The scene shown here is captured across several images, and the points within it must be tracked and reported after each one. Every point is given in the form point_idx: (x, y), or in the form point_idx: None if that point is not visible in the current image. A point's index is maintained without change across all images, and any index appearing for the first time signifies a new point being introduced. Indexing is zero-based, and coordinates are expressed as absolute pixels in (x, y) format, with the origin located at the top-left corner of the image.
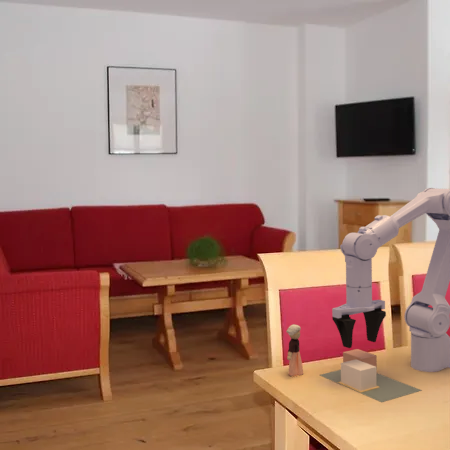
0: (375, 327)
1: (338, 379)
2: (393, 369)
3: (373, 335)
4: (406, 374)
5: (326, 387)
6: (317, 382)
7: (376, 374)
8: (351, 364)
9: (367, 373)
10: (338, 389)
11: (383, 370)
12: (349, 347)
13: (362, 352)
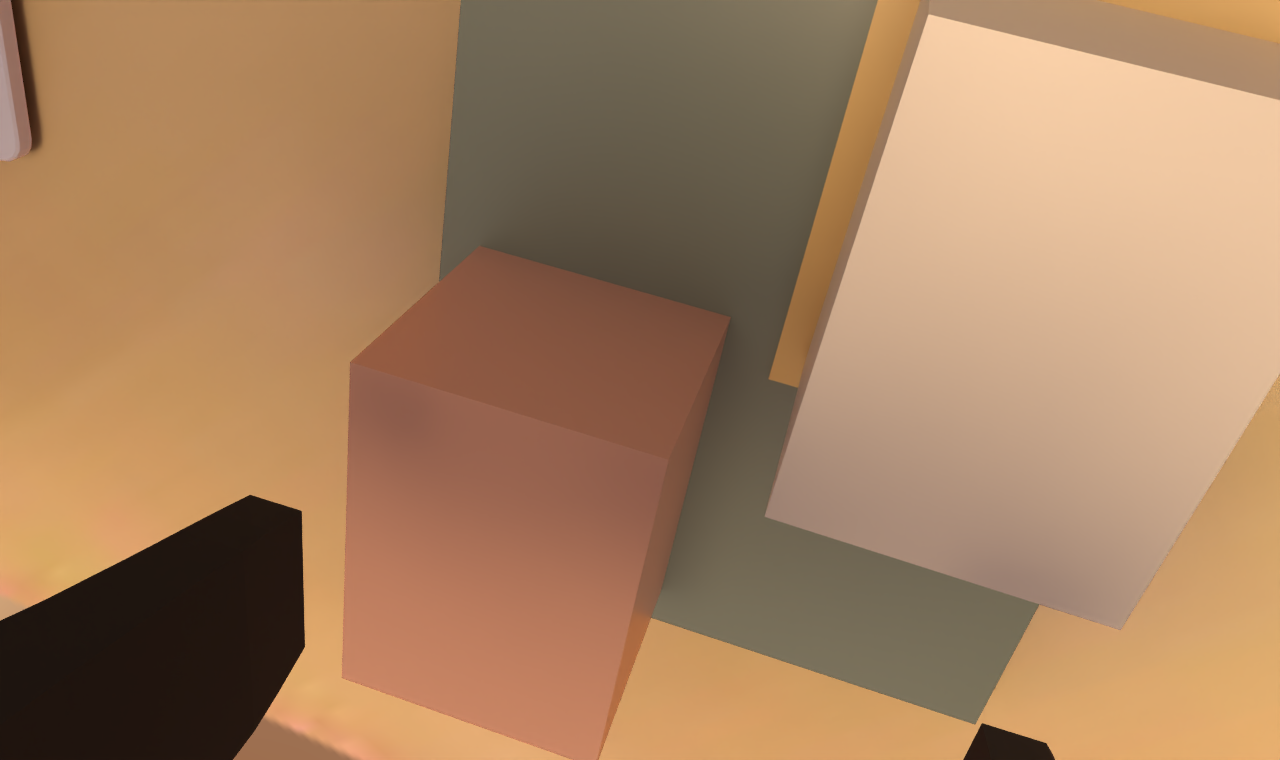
0: (6, 753)
1: None
2: (142, 220)
3: (202, 622)
4: (130, 7)
5: (1221, 526)
6: (1112, 662)
7: (486, 243)
8: (1092, 464)
9: (1180, 63)
10: None
11: (254, 289)
12: (1050, 755)
13: (405, 575)
